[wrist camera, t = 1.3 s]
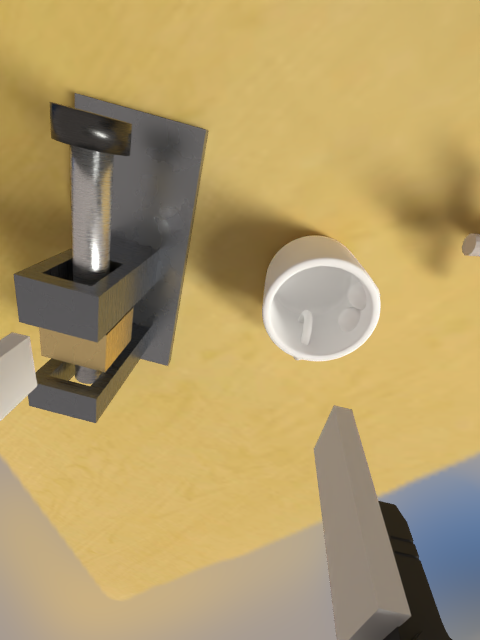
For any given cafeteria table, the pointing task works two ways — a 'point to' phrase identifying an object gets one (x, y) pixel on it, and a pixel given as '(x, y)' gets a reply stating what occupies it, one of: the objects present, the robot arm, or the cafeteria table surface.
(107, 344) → the spacer
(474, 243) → the pipe connector
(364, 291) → the mug
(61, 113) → the shaft
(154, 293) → the bearing block
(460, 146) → the cafeteria table surface
